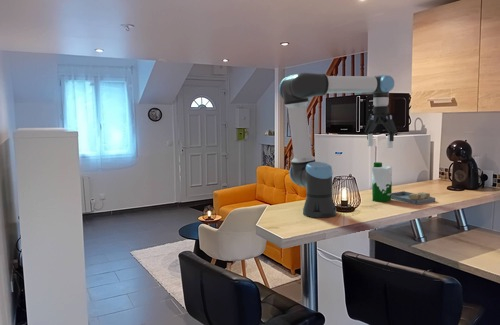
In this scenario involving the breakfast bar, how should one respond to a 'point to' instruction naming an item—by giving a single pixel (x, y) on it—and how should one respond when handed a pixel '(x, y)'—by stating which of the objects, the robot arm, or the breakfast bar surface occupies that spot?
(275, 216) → the breakfast bar surface
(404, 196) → the tray
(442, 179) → the breakfast bar surface
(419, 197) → the oak block
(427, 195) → the oak block
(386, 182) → the soya milk
